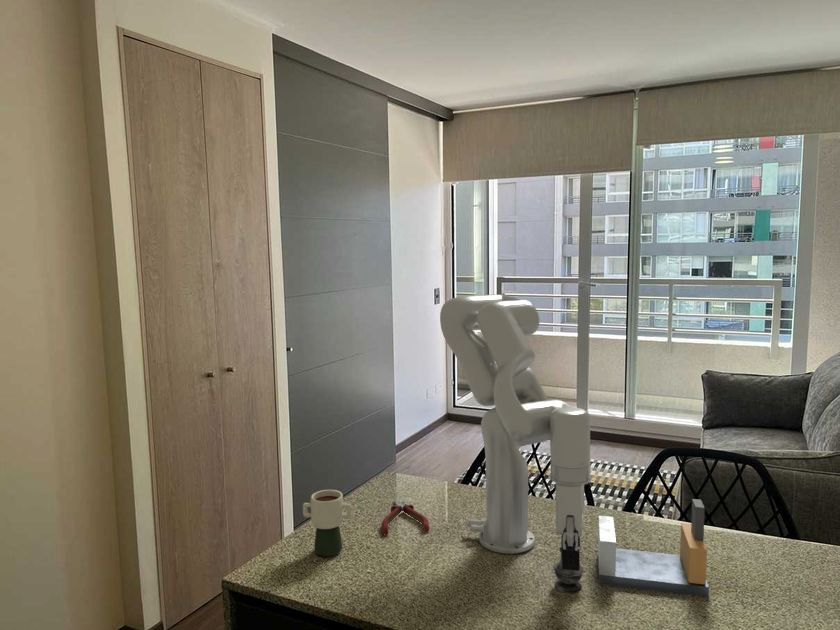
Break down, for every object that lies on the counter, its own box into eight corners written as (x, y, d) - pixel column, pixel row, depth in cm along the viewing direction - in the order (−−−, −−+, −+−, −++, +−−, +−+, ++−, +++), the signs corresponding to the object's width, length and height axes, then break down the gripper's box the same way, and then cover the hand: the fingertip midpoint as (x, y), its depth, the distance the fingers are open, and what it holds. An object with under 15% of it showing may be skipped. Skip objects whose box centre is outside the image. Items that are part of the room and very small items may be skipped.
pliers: (421, 501, 165) (421, 491, 165) (430, 535, 145) (430, 524, 145) (378, 503, 164) (378, 494, 164) (382, 538, 144) (381, 527, 144)
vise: (599, 584, 122) (600, 540, 121) (597, 555, 134) (598, 515, 133) (708, 597, 117) (710, 552, 116) (697, 566, 128) (698, 524, 128)
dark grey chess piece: (565, 596, 118) (565, 536, 117) (547, 581, 123) (547, 524, 122) (589, 589, 120) (590, 531, 119) (571, 575, 125) (571, 519, 124)
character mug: (355, 544, 140) (354, 489, 139) (349, 560, 133) (348, 502, 132) (308, 543, 141) (306, 488, 139) (300, 559, 134) (298, 501, 132)
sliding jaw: (688, 582, 118) (691, 513, 117) (680, 555, 129) (682, 491, 127) (705, 584, 117) (708, 515, 116) (695, 556, 128) (697, 493, 126)
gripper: (552, 457, 128) (553, 537, 130) (548, 486, 112) (549, 577, 113) (589, 459, 126) (590, 540, 128) (591, 488, 110) (591, 581, 111)
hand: (571, 557), depth 120 cm, fingers open, 9 cm apart
